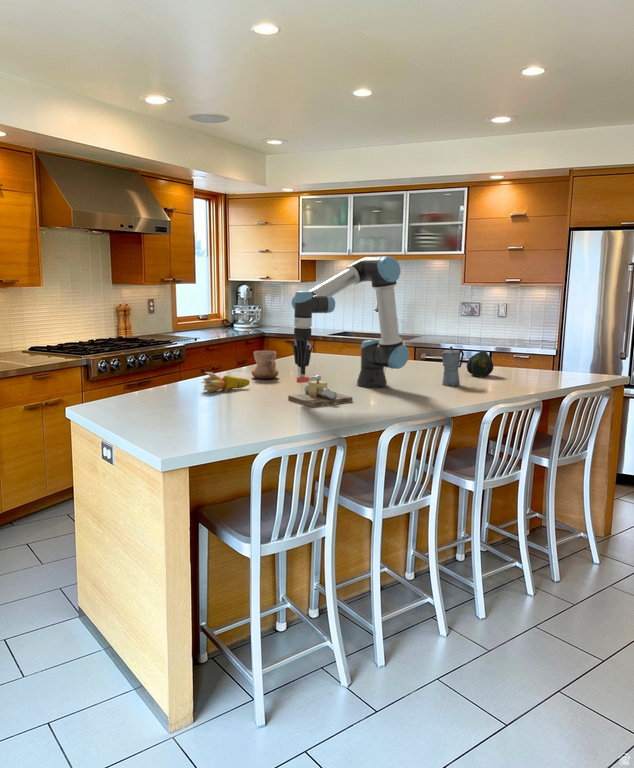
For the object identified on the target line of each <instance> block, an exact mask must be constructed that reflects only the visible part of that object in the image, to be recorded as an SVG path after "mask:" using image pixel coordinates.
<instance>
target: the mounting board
mask: <svg viewBox="0 0 634 768" xmlns="http://www.w3.org/2000/svg"><path fill="white" fill-rule="evenodd" d="M336 394H337V397H336V399H335V400H331V399H327V398H322V397H313V396H309V395H308V394H306V393H298V394H297V393H296V394H290V395H289V394H288V396H287V399H288V401H290V400H291V401H290V402H293V401H294V403H297V404H300V403H301V405H303V404H304V405H303V406H306V405H308V406H307V407H310V406H311V407H310V408H315V407H314V406H317V407H322V406H321V405H324V406H328V405H327V404H332V405H336V404H335V403H339V404H344V402H346V403H352V402H353V397H352V396H349V395H345V394H341V393H338V392H336Z"/></svg>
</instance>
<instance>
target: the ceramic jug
mask: <svg viewBox="0 0 634 768" xmlns="http://www.w3.org/2000/svg"><path fill="white" fill-rule="evenodd" d="M276 357H277V352H276V351H275V350H255V351H253V358H254V361H255V363H256V366H255V367H254V368H253V369H252V370H251V376H252V377H254V378H256V379H260V380H271V379H274V378H276V377H278V375H279V370H278V368H277V364H276Z"/></svg>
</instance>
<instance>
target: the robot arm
mask: <svg viewBox="0 0 634 768" xmlns="http://www.w3.org/2000/svg"><path fill="white" fill-rule="evenodd" d="M401 273H402V272H401V265H400V263H399V262H398V260H397V259H396V258H394V257H393V256H388V255H387V256H386V255H379V256H377V255H376V256H366V257H363V258H360V259H359V260H357V261H355V262H352V263H351V264H349V265H348V266H346V267H345V269H344V270H343V271H341V272H340V273H338V274H336V275H334V276H332V277H331V278H329V279H327V280H326V281H324V282H322V283H321V284H319V285H316V286H315V287H314V288H312V289H310V290H306V291H305V290H297V291H295V294H294V296H293V297H292V299H291V306H292V308H293V310H294V313H293V314H294V322H293V323H294V324H293V326H294V328H293V336H294V337H296V338H295V340H294V341H292V343H291V345H292V349H293V356H294V357H293V358H294V364H295V365H297V377H305V376H306V368H307V367H309V365H310V361H311V354H312V349H313V348H314V345H313V344H310V341H311V340H310V338H311V337H312V328H311V327H312V326H313V325H312V324H313V323H312V322H313V314H328V313H329V314H330V313H332V312H334V310H335V308H336V300H335V298H334V296H335V295H337V294H338V293H340V292H342V291H344V290H346V289H347V288H349V287H351V286H352V285H354V286H356V285H358V284H360V283H363V282H371V288H373V289H374V290H375V296H376V303H377V304H376V305H377V313H378V321H379V329H380V330H379V331H380V339H375V340H374V339H373V340H363V341H362V342H361V347H360V371H359V373H358V378H357V380H356V385H357V386H358V385H359V386H360V387H364V388H384V387H387V385H388V381H387V377H386V374H385V371H384V368H389V369H392V370H393V369H397V370H398V369H402V368H403V367H405V366H406V364H407V363H408V361H409V358H410V351H409V348H408V347H407V346H406V345H404V341H403V338H401V337H400V331H399V325H398V324H399V322H398V315H397V305H396V298H395V297H396V296H395V287H396V285H397V281H398V280H399V278H400V276H401ZM359 386H358V387H359Z"/></svg>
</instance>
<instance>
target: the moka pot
mask: <svg viewBox="0 0 634 768" xmlns="http://www.w3.org/2000/svg"><path fill="white" fill-rule="evenodd" d="M464 355H465V352H464V351H463V350H462V349H457V350H455V349H453V346H449V350H444V351H441V357H442V366H443V375H442V383H441V384H442V386H446V387H457V386H458V387H459V386H460V385H461V382H460V374H459V368H461V367H462V364H463V359H464V357H465V356H464Z"/></svg>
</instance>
